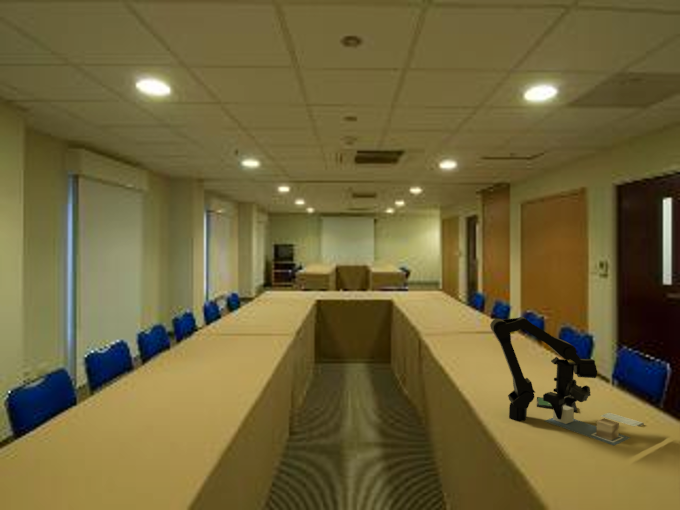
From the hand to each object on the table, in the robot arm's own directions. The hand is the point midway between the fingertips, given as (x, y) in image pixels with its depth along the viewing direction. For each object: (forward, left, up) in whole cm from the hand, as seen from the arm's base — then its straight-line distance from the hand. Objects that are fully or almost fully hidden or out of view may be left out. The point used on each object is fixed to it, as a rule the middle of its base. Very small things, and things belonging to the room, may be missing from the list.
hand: (563, 417), depth 178 cm
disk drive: (+14, +11, -3) cm, 18 cm away
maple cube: (0, -16, -1) cm, 16 cm away
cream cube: (0, 0, -1) cm, 1 cm away
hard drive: (+22, -11, -3) cm, 24 cm away
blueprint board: (0, -8, -2) cm, 9 cm away
